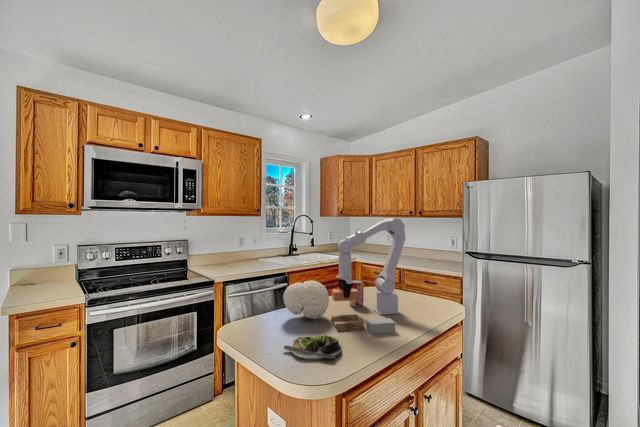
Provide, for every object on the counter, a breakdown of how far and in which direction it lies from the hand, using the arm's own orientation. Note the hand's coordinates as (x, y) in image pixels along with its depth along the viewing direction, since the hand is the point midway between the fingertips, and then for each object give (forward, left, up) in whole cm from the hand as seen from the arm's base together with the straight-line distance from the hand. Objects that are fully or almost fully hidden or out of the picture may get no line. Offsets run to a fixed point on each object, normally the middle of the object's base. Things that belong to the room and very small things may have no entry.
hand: (345, 296), depth 138 cm
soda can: (-9, -12, -8) cm, 17 cm away
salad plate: (+18, +33, -9) cm, 39 cm away
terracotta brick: (0, 0, -1) cm, 1 cm away
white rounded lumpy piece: (+18, +3, -9) cm, 20 cm away
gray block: (-9, +21, -9) cm, 24 cm away
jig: (+3, +13, -8) cm, 16 cm away
